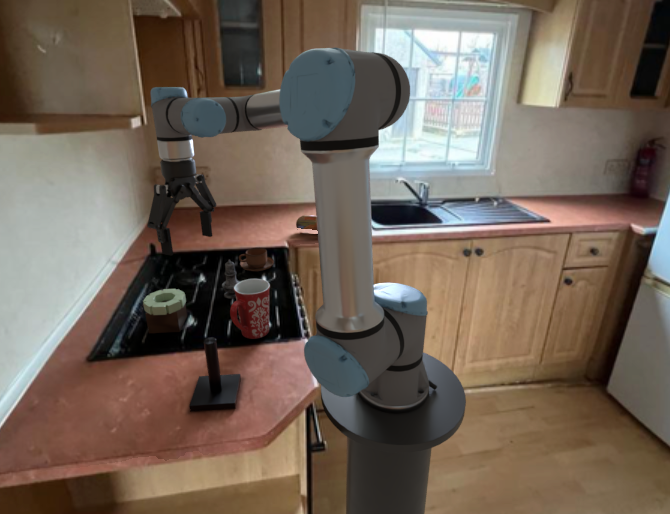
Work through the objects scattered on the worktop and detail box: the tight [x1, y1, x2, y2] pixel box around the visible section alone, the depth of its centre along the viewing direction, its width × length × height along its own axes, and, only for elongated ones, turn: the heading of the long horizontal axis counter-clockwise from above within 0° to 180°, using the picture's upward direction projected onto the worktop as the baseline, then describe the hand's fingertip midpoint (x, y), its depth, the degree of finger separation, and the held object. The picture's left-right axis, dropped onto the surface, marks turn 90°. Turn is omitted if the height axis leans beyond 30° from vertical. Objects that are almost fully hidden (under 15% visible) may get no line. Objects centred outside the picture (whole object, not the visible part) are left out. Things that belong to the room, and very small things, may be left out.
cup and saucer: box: [238, 247, 275, 272], centre depth 147 cm, size 12×12×6 cm
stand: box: [188, 336, 242, 413], centre depth 85 cm, size 9×9×14 cm
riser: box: [144, 300, 188, 334], centre depth 111 cm, size 8×8×6 cm
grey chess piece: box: [221, 259, 241, 299], centre depth 126 cm, size 6×6×12 cm
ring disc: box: [142, 288, 187, 315], centre depth 110 cm, size 10×10×2 cm
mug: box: [229, 278, 271, 340], centre depth 105 cm, size 13×9×14 cm
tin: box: [295, 214, 317, 230], centre depth 180 cm, size 15×3×8 cm, turn 76°
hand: (188, 244), depth 102 cm, fingers open, 13 cm apart
